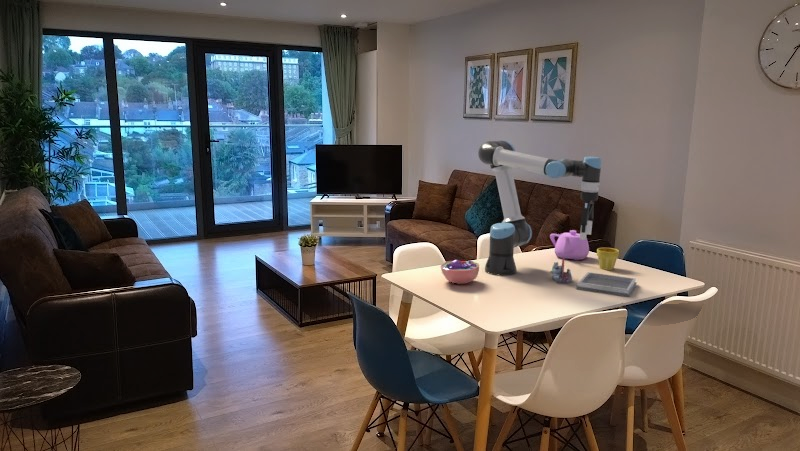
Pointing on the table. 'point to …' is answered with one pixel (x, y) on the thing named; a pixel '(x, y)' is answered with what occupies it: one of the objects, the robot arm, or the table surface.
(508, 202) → the robot arm
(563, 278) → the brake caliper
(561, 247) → the teapot
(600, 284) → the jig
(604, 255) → the plant pot
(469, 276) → the cell model
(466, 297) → the table surface
